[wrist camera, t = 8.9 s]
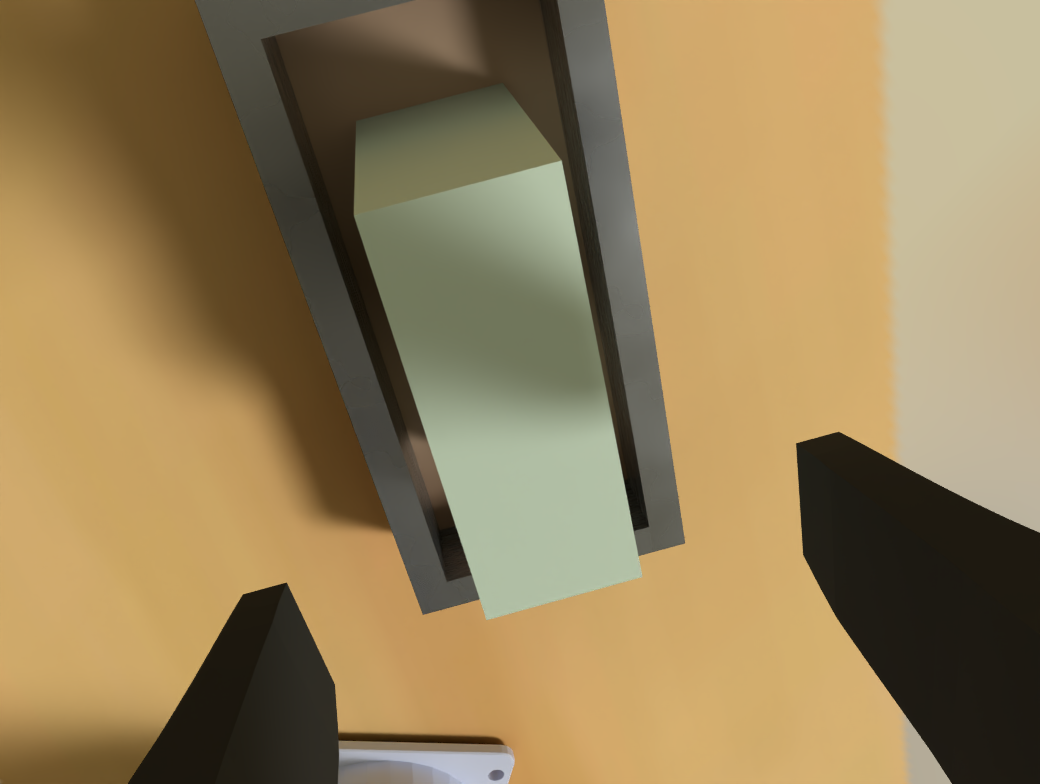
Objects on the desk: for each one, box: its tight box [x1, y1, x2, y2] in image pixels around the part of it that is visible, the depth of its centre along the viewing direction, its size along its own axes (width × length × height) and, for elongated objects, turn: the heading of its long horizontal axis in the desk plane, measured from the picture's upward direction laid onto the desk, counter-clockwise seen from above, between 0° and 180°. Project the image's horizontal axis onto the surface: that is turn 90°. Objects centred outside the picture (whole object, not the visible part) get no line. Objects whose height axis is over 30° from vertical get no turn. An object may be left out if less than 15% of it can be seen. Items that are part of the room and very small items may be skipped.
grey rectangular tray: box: [195, 0, 685, 615], centre depth 19 cm, size 14×7×3 cm, turn 12°
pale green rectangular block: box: [354, 83, 642, 620], centre depth 17 cm, size 8×3×6 cm, turn 13°
